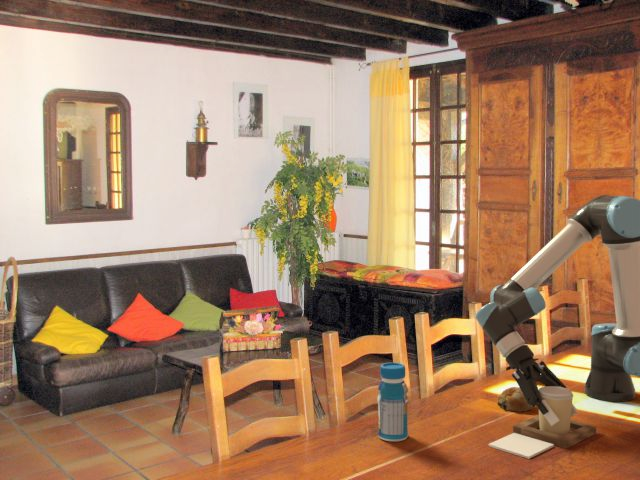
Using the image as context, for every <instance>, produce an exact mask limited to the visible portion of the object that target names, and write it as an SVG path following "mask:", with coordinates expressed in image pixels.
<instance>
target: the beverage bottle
mask: <svg viewBox="0 0 640 480" xmlns="http://www.w3.org/2000/svg"><path fill="white" fill-rule="evenodd" d="M379 371H380V372H379V373H380V374H379V375H380V376H379V377H380V378H381V381H380V383H379V384H378V387H377V392H378V395H377V398H376V399H377V405H378V406H377V412H378V413H377V416H378V418H377V420H378V424H377V425H378V428H377V436H378V438H379V439H381V440H383V441H386V442H392V443H394V442H402V441H404V440H406V439H407V438H408V436H409V430H408V404H409V397H408V393H409V388H408V386H407V384H406V381H405V380H404V379H406V378H405V377H406V366H405V365H404V364H403V363H400V362H386V363H382V364H380V370H379Z"/></svg>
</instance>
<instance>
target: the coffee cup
mask: <svg viewBox="0 0 640 480" xmlns="http://www.w3.org/2000/svg"><path fill="white" fill-rule="evenodd" d="M538 390H539V393H540V396H541V398H542V401H543V400H545V401H546V402H547V404H548V405H549V406H550V408H551V409H552V410H553V412H554V413H555V414H556V416H557V417H558V419H559V421H558V422H557V423H556V424H554V425H553V426H551V425H550V423H549V422H548V420H547V419H546V418H545V416H544V415H543V414H542V413H541V411H540V410H539V409H538V415H539V425H540V427H539V430H542V431H545V432H549V433H553V434H556V435H560V436H564V435H566V434H569V433H570V431H571V430H570V421H571V420H572V417H571V411H572V404H573V399H574V393H573V391H572V390H571V389H570V388H567V387H566V388H563V387H557V386H541V387H538Z"/></svg>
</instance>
